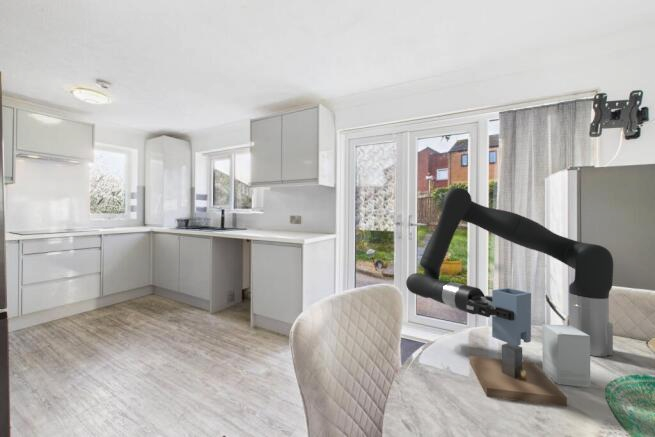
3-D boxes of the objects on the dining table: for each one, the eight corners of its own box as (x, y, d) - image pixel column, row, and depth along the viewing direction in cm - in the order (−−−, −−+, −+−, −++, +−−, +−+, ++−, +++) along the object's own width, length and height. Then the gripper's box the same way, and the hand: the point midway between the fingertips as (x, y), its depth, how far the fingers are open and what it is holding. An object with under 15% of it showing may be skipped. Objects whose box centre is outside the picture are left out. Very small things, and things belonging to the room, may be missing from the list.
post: (518, 370, 75) (518, 343, 75) (526, 380, 70) (526, 351, 70) (498, 368, 76) (498, 341, 76) (505, 378, 71) (505, 349, 71)
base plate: (533, 369, 79) (533, 362, 79) (567, 406, 64) (567, 397, 64) (469, 362, 83) (469, 355, 83) (486, 396, 67) (486, 387, 67)
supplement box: (591, 388, 70) (591, 336, 70) (557, 384, 72) (556, 333, 72) (572, 372, 78) (572, 325, 78) (541, 369, 79) (541, 323, 79)
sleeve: (492, 336, 75) (492, 290, 74) (506, 332, 77) (506, 287, 77) (516, 346, 69) (516, 295, 69) (530, 341, 72) (531, 293, 72)
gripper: (445, 287, 83) (503, 302, 68) (478, 282, 89) (538, 295, 74) (444, 313, 83) (503, 334, 68) (478, 306, 89) (538, 324, 74)
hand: (521, 314), depth 71 cm, fingers closed on sleeve, 6 cm apart
